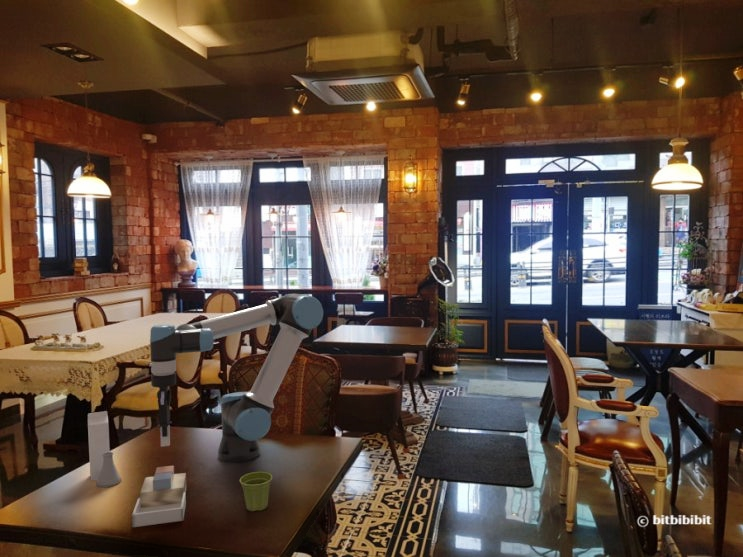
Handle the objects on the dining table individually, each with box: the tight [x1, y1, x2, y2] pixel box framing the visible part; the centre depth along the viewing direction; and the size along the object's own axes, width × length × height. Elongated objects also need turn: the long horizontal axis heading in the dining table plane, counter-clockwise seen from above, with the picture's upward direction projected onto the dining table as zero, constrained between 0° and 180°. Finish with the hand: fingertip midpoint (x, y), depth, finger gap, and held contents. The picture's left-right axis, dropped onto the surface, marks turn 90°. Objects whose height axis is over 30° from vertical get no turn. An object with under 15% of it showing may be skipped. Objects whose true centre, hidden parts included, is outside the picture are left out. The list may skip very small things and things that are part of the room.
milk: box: [87, 410, 111, 482], centre depth 188 cm, size 6×6×22 cm
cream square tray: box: [139, 472, 187, 508], centre depth 170 cm, size 12×12×5 cm
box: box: [131, 491, 187, 528], centre depth 159 cm, size 13×11×4 cm
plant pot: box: [239, 471, 273, 512], centre depth 163 cm, size 9×9×9 cm
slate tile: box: [153, 472, 173, 490], centre depth 167 cm, size 5×5×3 cm
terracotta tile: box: [154, 465, 175, 479], centre depth 173 cm, size 5×5×3 cm
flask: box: [95, 451, 122, 488], centre depth 182 cm, size 7×7×10 cm
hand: (165, 445), depth 180 cm, fingers closed
